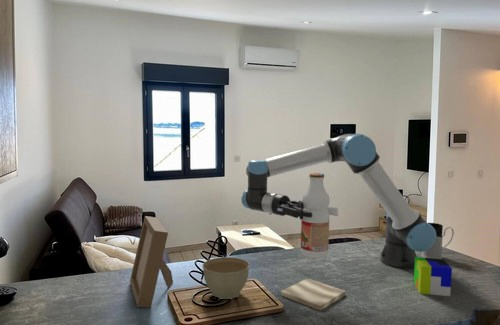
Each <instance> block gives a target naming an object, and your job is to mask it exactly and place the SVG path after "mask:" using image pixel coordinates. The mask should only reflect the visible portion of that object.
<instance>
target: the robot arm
mask: <svg viewBox="0 0 500 325" xmlns="http://www.w3.org/2000/svg"><path fill="white" fill-rule="evenodd" d="M376 147H377V146H376V144H375V142H374V141H373V140H372V138H370V137H369V136H367V135H366V134H361V133H344V134H342V135H338V136H336V137H333V138H331V139H328V140H323V142H322V143H321V144H318V145H315V146H310V147H306V148H303V149H299V150H296V151H292V152H287V153H285V154H281V155H275V156H273V157H269V158H266V159H263V160H262V159H252V160H249V161H248V165H247V167H246V170H245V172H246V176H247V189H246V190H244V192H242V196H241V204H242V206H243V207H244V208H246V209H249V210H252V211H258V212H264V213H269V215H270V216H271V215H272V214H273V215H277V216H281V217H285V216H289V217H292V218H294V219H298V218H299V220H302V219H303V216H304V218H309V219H314V220H319V221H322V212H318V211H313V210H307V209H304V211H303V208H304V205H303V200H299V201H297V200H291V199H290V197H289V196H288V195H285V194H278V193H275V192H274V193H273V192H268V178H270V177H274V176H277V175H281V174H284V173H288V172H293V171H296V170H297V171H298V170H300V169H304V168H307V167H310V166H314V165H315V166H316V165H318V164H319V165H320V164H322V163H328V164H332V163H336V162H337V163H338V162H345V163H346V164H347V166H348V168H350V170H351V172H353V174H355V175H360V177H361V178H362V180H363V181H364V183H365V184H366V185H367V187H368V188H369V189H370V191H371V193H372V194H373V196H374V197H375V198H376V199H377V201H378V202H379V204H380V205H381V206H382V209H384V211H385V212H386V217H385V219H386V221H385V242H384V246H383V248H382V251H381V252H380V259H379V260H380V261H381V263H383V264H385V265H388V266H389V267H395V268H403V269H404V268H405V269H407V268H415V257H418V256H417V252H420V253H421V252H422V253H423V251H426V250H428V249H430V248H431V247H432V246H433V244H434V243H435V240H436V231H435V229H434V228H433V227H432V226H431V225H430V224H428V223H429V222H427V221H426V220H425V219H424V218H423V216H422V215H421V213H420V212H419V210H417V209H412V208H411V206H410V204H408V202H407V200H406V198H404V196H403V195H402V193H401V192H400V190H399V189H398V187H397V186H396V185H395V184H394V181H392V179H391V177H390V176H389V175H388V174H387V172H386V171H385V169H384V168H383V166H382V165H381V163H380V158H381V157H380V155H379V154H378V152H377V148H376ZM328 211H329V216H335V217H337V216H339V213H338V212H339V208H338V207H335V206H330V205H329V206H328Z"/></svg>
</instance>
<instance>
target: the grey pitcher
mask: <svg viewBox="0 0 500 325" xmlns="http://www.w3.org/2000/svg"><path fill="white" fill-rule="evenodd" d="M427 223H428V224H430V225H431V226H432V227H433V228H434V229H435V231H436V240H435V243H434V244H433V246H432V247H431V248H430V249H428V250H426V251H422V253H421V258H434V259H443V255H442V252H443V250H444V249H445V248H446V247H447V246H448V245H450V244H451V242H452V241H453V238H454V234H455V233H454V228H452V227H450V226H447V227H446V228H444V227H443V226H444V225H442V224H440V223H436V222H435V223H434V222H427ZM443 228H444V230H443ZM448 229H451V236H450V239H449V241H448V242H447V243H446V244H445V245H444V246H443V237H445V236H446V231H447V230H448Z"/></svg>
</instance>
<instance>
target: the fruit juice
mask: <svg viewBox="0 0 500 325" xmlns="http://www.w3.org/2000/svg"><path fill="white" fill-rule="evenodd" d="M324 178H325V173H320V172H311V173H309V180H310V181H309V184H308V188H307V190H306V191H305V192H304V194H303V195H302V201H303V205H304V208H303V211H304V209H307V210H313V211H318V212H322V221H319V220H314V219H309V218H304V216H303V219H302V220H301V219H300V220H301V222H300V223H301V228H300V255H302V256H303V257H305V258H311V259H325V257H328V256H329V241H330V240H329V237H330V215H329V211H328V206H330V203H331V202H330V196H329V194H328V192H327V191H326V189H325V185H324V180H325V179H324Z"/></svg>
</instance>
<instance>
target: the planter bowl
mask: <svg viewBox="0 0 500 325" xmlns="http://www.w3.org/2000/svg"><path fill="white" fill-rule="evenodd" d="M250 265H251V264H250V263H249V261H248V260H246V259H243V258H239V257H234V256H233V257H232V256H231V257H229V256H227V257H226V256H222V257H215V258H210V259H207V260H205V262H203V264H202V269H203V270H202V271H203V278H204V281H205V282H204V283H205V284H206V287H207V288H208V290H210V292H211V296H212V297H213V296H215V297H218V298H222V299H231V300H233V299H232V298H235V297H237V298H238V297H240V295H241V292H242V290H243V289H244V287H245V286H246V283H247V282H248V278H249V272H250V271H249V270H250ZM235 299H236V298H235Z"/></svg>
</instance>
